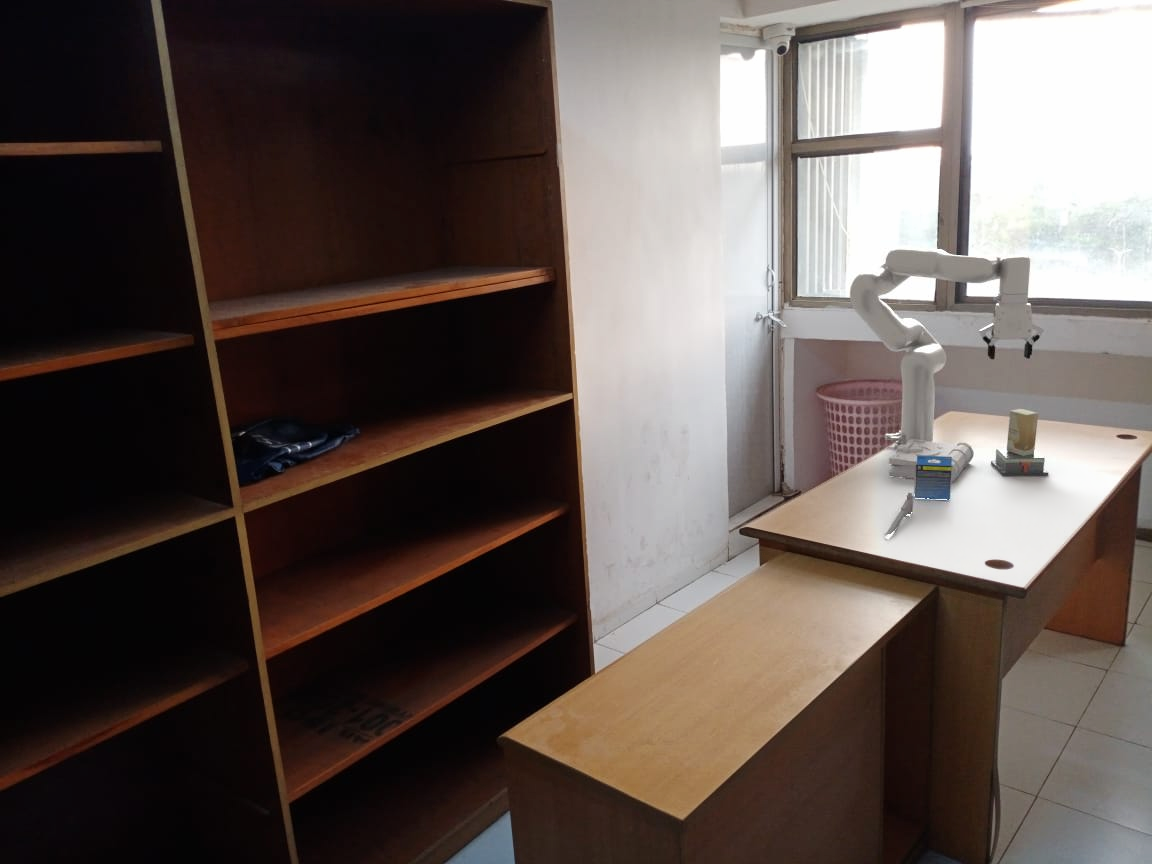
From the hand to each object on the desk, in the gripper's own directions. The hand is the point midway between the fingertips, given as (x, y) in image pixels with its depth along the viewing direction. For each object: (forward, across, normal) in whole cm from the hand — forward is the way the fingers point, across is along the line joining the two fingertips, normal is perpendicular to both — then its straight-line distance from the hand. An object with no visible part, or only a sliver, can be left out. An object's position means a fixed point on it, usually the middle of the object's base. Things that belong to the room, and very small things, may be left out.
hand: (1009, 358), depth 269 cm
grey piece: (+30, +1, -12) cm, 33 cm away
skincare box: (+26, +1, -12) cm, 28 cm away
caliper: (+31, -40, -58) cm, 77 cm away
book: (+31, -22, -9) cm, 39 cm away
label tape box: (+31, -28, -37) cm, 55 cm away
